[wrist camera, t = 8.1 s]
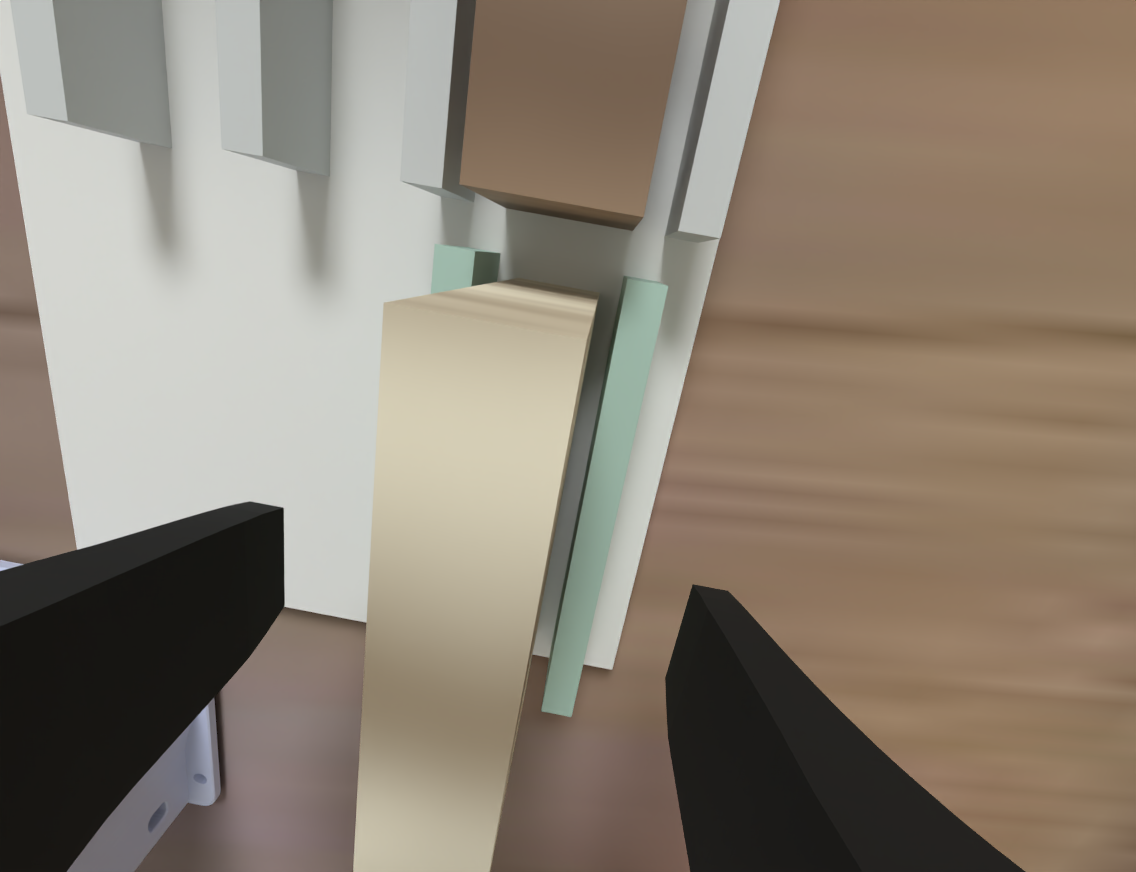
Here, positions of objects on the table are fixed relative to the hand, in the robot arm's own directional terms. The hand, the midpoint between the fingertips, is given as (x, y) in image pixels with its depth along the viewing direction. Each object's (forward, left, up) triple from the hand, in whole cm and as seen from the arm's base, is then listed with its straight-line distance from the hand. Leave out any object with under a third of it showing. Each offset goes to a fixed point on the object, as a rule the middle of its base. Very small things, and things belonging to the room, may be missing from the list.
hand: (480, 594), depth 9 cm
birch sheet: (0, 0, -5) cm, 5 cm away
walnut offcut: (+9, 0, -5) cm, 10 cm away
